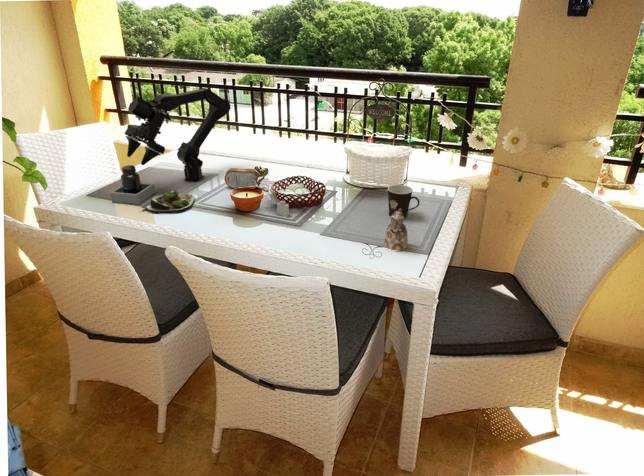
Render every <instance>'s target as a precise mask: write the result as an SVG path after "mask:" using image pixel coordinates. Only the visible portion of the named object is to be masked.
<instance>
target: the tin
mask: <svg viewBox="0 0 644 476" xmlns="http://www.w3.org/2000/svg"><path fill="white" fill-rule="evenodd" d="M253 170H255V169H253V168H237V167H232V168H230V169H228V170H227V171H226V172H225V175H224V182H225V185H227V187H229V188H230V189H233V190H234V189H235V188H239V187H249V186H256V182H255V181H254V179H253ZM262 181H263V180H261V181H260V182H259V183H258V187H259V186H260V185H261V184H262ZM235 190H236V189H235Z"/></svg>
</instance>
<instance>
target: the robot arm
mask: <svg viewBox="0 0 644 476" xmlns="http://www.w3.org/2000/svg"><path fill="white" fill-rule="evenodd" d="M202 100H203V101H205V102H207V104H209V107H208V112H207V115H206V116H205V118H204V119H203V121H202V122H201V124H200V125H199V126H198V128H197V130H196V131H195V132H194V134H193V136H192V137H191V138H190V140H189V141H187V142H184V141H183V142H182V143H181V145H180V147H179V148H177V152H176V157H177V159H178V161H181V163H182V165H184V168H183V171H184V172H183V173H184V181H185V182H186V181H187V182H195V183H196V182H200V181H202V179H203V178H204V177H205V175H203V169H202V167H203V164H204V161H203V160H202V159H200V158H199V156H200V151H201V150H200V149H201V147H202V145H203V144H204V142H205V141H206V139H207V138H208V136H209V135H210V133H211V131H213V128H214V127H215V126H216V124H217V123H218V121H219V120H221V119H222V118H223V117H225V116H226V115H227V114H228V113H229V111H230V110H231V107H232V106H231V103H230V101H229V100H228V99H225V98H222V97H221V96H219V95H218V94H217V93H215V92H214V91H212V90H211V89H209V88H205V87H202V88H199V89H194V90H190V91H185V92H181V93H175V94H173V93H172V94H170V93H168V94H167V93H163V94H161V93H159V94H156V96H155V98H153V99H151V100H149V101H147V100H145V99H144V98H142V96H135V98H134V99H133V100H132V101H131V102H130V103H129V105H128V112H129V113H131V114H132V115H134V116H135V117H138V118H140V119H141V120H146V121H145V122H141V123H140V125H139V124H127V127H126V130H125V132H124V135H125V138H126V139H127V141H128V146H127V154H126V157H128V158H130V157H132V156H133V155H134V153H135V152H136V151H137V150H138V148H139V147H140V146H141V145H142V143H144V144H146V146H144V150H145V152H144V154H143V157H142V160H141V162H140V165H142V166H145V165H146V164H147V163H148V162H150V161H151V160H153V159H155V158H156V157H158V156H161V154H162V155H164V153H165V152H166V148H165V146H164V145H162V144H160V143H158V142H157V141H156V138H157V136H158V135H161V133H162V132H161V131H160V130H161V128H162V126H163V124H164V122H165V120H167V121H172V118H171V115H170V113H169V112H171V111H173V110H175V109H178V108H179V107H180V106H182V105H187V104H191V103H195V102H199V101H202ZM163 111H164V112H163Z"/></svg>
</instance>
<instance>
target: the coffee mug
mask: <svg viewBox="0 0 644 476" xmlns="http://www.w3.org/2000/svg"><path fill="white" fill-rule="evenodd" d="M412 193H413V188H412V187H411V186H409V185H403V184H393V185H389V186H388V188H387V196H388V197H387V199H388V215H389V217H390V218H391V216H392V214H393V213H394V212H396V211H398V210H399V209H402V213H403V216H404V219H405V218H407V216H408V214H409V213H408V212H409V211H412V210H415V209H417V208H418V207H419V206H420V203H421V202H420V199H419V198H418V197H417V196H412V195H413V194H412ZM412 199H415V200H416V201H417V205H416V206H414V207H412V208H411V207H410V203H411V200H412Z"/></svg>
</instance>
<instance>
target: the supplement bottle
mask: <svg viewBox="0 0 644 476" xmlns="http://www.w3.org/2000/svg"><path fill="white" fill-rule="evenodd" d="M121 173H122V174H121V175H120V181H121V186H123V191H124V193H129V194H138V193H139V192H141V191H142V186H141V183H142V182H141V176H140V173H138V172H137V169H136V166H135V165H133V164H132V165H129V164H128V165H124V166H121Z"/></svg>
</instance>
